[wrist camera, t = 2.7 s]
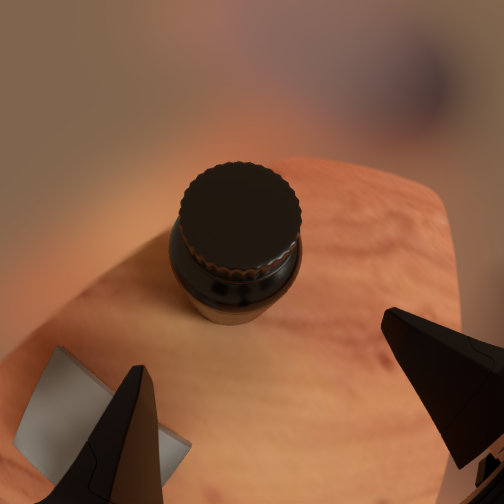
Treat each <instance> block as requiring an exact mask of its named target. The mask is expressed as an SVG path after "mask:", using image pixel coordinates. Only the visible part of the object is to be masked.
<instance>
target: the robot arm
mask: <svg viewBox="0 0 504 504" xmlns="http://www.w3.org/2000/svg"><path fill="white" fill-rule="evenodd" d="M381 330H382V332H383V334H384V336H385V338H386V340H387V342H388V344H389V346H390V348H391V350H392V352H393V354H394V356H395V358H396V360H397V362H398V363H399V365H400V366H401V368H402V370H403V371H404V373H405V375H406V376H407V378H408V379H409V381H410V383H411V384H412V386H413V388H414V389H415V391H416V393H417V394H418V396H419V398H420V399H421V401H422V403H423V404H424V406H425V408H426V410H427V411H428V413H429V415H430V417H431V418H432V420H433V422H434V424H435V425H436V427H437V429H438V431H439V433H440V434H441V437H442V438H443V440H444V442H445V444H446V446H447V448H448V450H449V452H450V454H451V456H452V457H453V459H454V461H455V463H456V465H457V467H458V469H459V470H460V469H462V468H463V467H464V466H465V465H467V464H468V463H470V462H471V461H472V460H474V459H475V458H476V457H477V456H479V455H480V454H481V453H482V452H483V451H485V450H486V449H487V448H488V450H489V451H490V452H489V453H488V454H487V455H486V456H485V457H484V458H483V459H482V460H481V461H480V462H479V466H478V472H477V478H476V483H475V485H476V487H477V489H476V490H475V491H474V492H472V493H471V494H470V495H469V496H468V497H467V498H466V499H465V500H464V501H462V502H461V503H460V504H504V348H501V347H498V346H494V345H491V344H488V343H485V342H482V341H479V340H477V339H474V338H471V337H469V336H466V335H464V334H461V333H459V332H456V331H454V330H451V329H449V328H446V327H444V326H441V325H439V324H436V323H434V322H431V321H429V320H426V319H424V318H421V317H419V316H416V315H414V314H411V313H409V312H406V311H404V310H401V309H398V308H396V307H392V308H389V309H387V310H386V311H385V312H384V316H383V319H382V323H381ZM87 440H88V441H86V442H85V444H84V446H83V447H82V449H81V451H80V452H79V454H78V456H77V457H76V459H75V460H74V462H73V463H72V465H71V466H70V468H69V469H68V470H67V472H66V473H65V474H64V476H63V477H62V478H61V480H60V481H59V483H58V484H57V485H56V487H55V488H54V489H53V491H52V492H51V493H50V494H49V495H48V496H47V497H46V498H45V499H43V500H42V501H40V502H37V503H35V504H163V495H162V484H161V472H160V457H159V433H158V419H157V411H156V404H155V396H154V387H153V382H152V379H151V377H150V375H149V373H148V371H147V369H146V367H145V366H144V365H135V366H132V367H131V369H130V371H129V372H128V374H127V375H126V377H125V378H124V380H123V382H122V383H121V385H120V386H119V388H118V390H117V391H116V393H115V394H114V396H113V398H112V399H111V401H110V402H109V404H108V406H107V407H106V409H105V411H104V412H103V414H102V416H101V417H100V419H99V421H98V422H97V424H96V426H95V427H94V429H93V431H92V432H91V434H90V436H89V437H88V439H87Z"/></svg>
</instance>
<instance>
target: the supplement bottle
mask: <svg viewBox="0 0 504 504" xmlns="http://www.w3.org/2000/svg"><path fill="white" fill-rule="evenodd" d="M180 204H181V208H180V211H179V216H178V218H177V219H176V221H175V223H174V226H173V228H172V231H171V235H170V240H169V258H170V263H171V267H172V270H173V273H174V275H175V277H176V279H177V281H178V283H179V284H180V286H181V288H182V289H183V291H184V292H185V294H186V295H187V297H188V298H189V300H190V301H191V303H192V304H193V305H194V307H195V308H196V309H197V310H198V311H199V312H200V313H201V314H202V315H203V316H204V317H206V318H207V319H209V320H211V321H213V322H215V323H218V324H223V325H240V324H244V323H247V322H250V321H252V320H254V319H255V318H257V317H258V316H260V315H261V314H262V313H263V312H265V311H266V310H267V309H268V308H269V307H271V306H272V305H273V304H274V303H275V302H277V301H278V300H279V299H280V298H281V297H282V296H283V295H284V294H285V293H286V292H287V291H288V289H289V288H290V287H291V285H292V284H293V282H294V281H295V279H296V277H297V275H298V272H299V269H300V266H301V261H302V241H301V236H300V226H301V224H302V219H301V212H302V210H301V208H300V207H299V200H298V198H297V197H296V196H295V191H294V190H293V189H292V188H290V186H289V183H288V182H287V181H285V180H283V179H282V177H281V176H280V175H279V174H276V173H274V172H273V171H272V170H271V169H268V168H265V167H263V166H262V165H255V164H253V163H251V162H246V163H243V162H240V161H238V162H234V163H232V162H227V163H225V164H223V165H216V166H215V167H214V168H209V169H207V170H206V171H205V172H204V173H202V174H199V175H198V176H197V178H196V179H195V180H193V181H192V182H191V183H190V186H189V188H188V189H186V191H185V192H184V197H183V199H182V200H181V202H180Z"/></svg>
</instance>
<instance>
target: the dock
mask: <svg viewBox="0 0 504 504" xmlns="http://www.w3.org/2000/svg"><path fill="white" fill-rule="evenodd" d="M115 393H116V392H114V391H113V390H112V389H111V388H109V387H108V386H107V385H106V384H104V383H103V382H102V381H101V380H100V379H98V378H97V377H96V376H95V375H94V374H93V373H91V372H90V371H89V370H88V369H87V368H86V367H85V366H84V365H83V364H81V363H80V362H79V361H78V360H77V359H76V358H75V357H74V356H73V355H72V354H71V353H70V352H68V351H67V350H66V349H65V348H64V347H60V346H57V347H56V349H55V350H54V352H53V354H52V356H51V358H50V360H49V362H48V364H47V366H46V367H45V369H44V371H43V373H42V375H41V377H40V380H39V382H38V384H37V386H36V388H35V390H34V392H33V394H32V397H31V399H30V401H29V403H28V406H27V408H26V410H25V413H24V415H23V418H22V420H21V423H20V425H19V428H18V430H17V433H16V436H15V438H14V441H13V445H14V446H15V447H16V448H17V449H18V450H19V452H20V453H21V454H22V455H23V456H24V457H25V458H26V459H27V460H28V461H29V462H30V463H31V464H32V465H33V466H34V467H35V468H36V469H37V470H38V471H39V472H40V473H41V474H42V475H44V476H45V477H46V478H47V479H48V480H49V481H50V482H51V483H53V484H54V485H55V486H56V485H57V484H58V483H59V481H60V480H61V478H62V477H63V476H64V474H65V473H66V472H67V470H68V469H69V468H70V466H71V465H72V463H73V462H74V460H75V459H76V457H77V456H78V454H79V452H80V451H81V449H82V447H83V446H84V444H85V442H86V441H88V440H87V439H88V437H89V436H90V434H91V432H92V431H93V429H94V427H95V426H96V424H97V422H98V421H99V419H100V417H101V416H102V414H103V412H104V411H105V409H106V407H107V406H108V404H109V402H110V401H111V399H112V398H113V396H114V394H115ZM158 433H159V457H160V472H161V484H162V487H163V486H164V485H165V483H166V482H167V481H168V479H169V478H170V477H171V475H172V474H173V472H174V471H175V470H176V468H177V467H178V466H179V464H180V463H181V461H182V460H183V459H184V457H185V456H186V454H187V453H188V452H189V450H190V449H191V446H192V443H191V442H189V441H187V440H186V439H184V438H182V437H180V436H179V435H177V434H175V433H174V432H172V431H170V430H169V429H167V428H166V427H164V426H162V425H161V424H159V423H158Z"/></svg>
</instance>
